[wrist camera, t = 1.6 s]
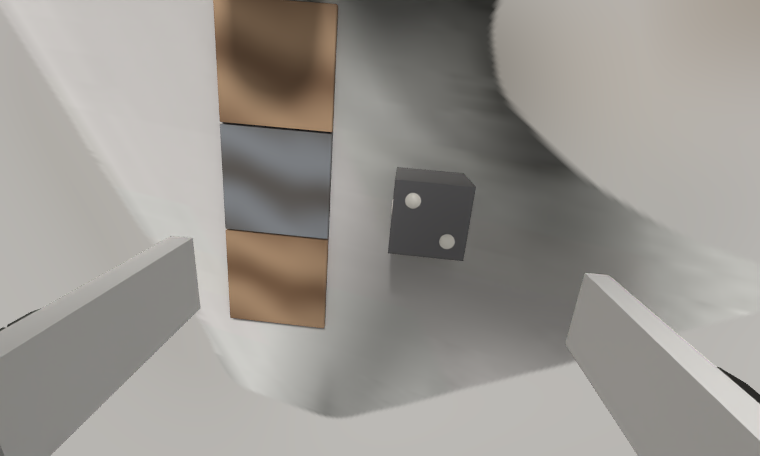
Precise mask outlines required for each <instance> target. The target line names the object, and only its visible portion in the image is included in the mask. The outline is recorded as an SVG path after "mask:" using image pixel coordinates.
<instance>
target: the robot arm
mask: <svg viewBox="0 0 760 456" xmlns="http://www.w3.org/2000/svg"><path fill="white" fill-rule="evenodd" d="M199 309H200V300H199V291H198V282H197V273H196V264H195V255H194V246H193V238H188V237H176V236H170V237H168V238H166V239H165V240H163V241H161V242H159V243H158V244H156V245H154V246H152V247H150V248H149V249H147V250H145V251H143V252H141V253H140V254H138V255H136V256H134V257H132V258H131V259H129V260H127V261H125V262H124V263H122V264H120V265H118V266H116V267H115V268H113V269H111V270H109V271H108V272H106V273H104V274H102V275H100V276H98V277H97V278H95V279H93V280H91V281H89V282H88V283H86V284H84V285H82V286H80V287H79V288H77V289H75V290H74V291H72V292H70V293H68V294H66V295H64V296H62V297H61V298H59V299H57V300H55V301H54V302H52V303H50V304H48V305H46V306H45V307H43V308H41V309H38V310H35V311H33V312H30V313H28V314H26V315H25V316H23V317H21V318H19V319H17V320H16V321H14V322H12V323H10V324H8V326H7V328H1V329H0V456H50V455H51V454H52V453H53V452H55V450H56V449H57V448H59V447H60V446H61V444H63V443H64V442H65V441H66V440H67V439H68V438H69V437H70V436H71V435H72V434H73V433H74V432H75V431H76V430H77V429H78V428H79V427H80V426H81V425H82V424H83V423H84V422H85V421H86V420H87V419H88V418H89V417H90V416H91V415H92V414H93V413H94V412H95V411H96V410H97V409H98V408H99V407H100V406H101V405H102V404H103V403H104V402H105V401H106V400H107V399H108V398H109V397H110V396H111V395H112V394H113V393H114V392H115V391H117V390H118V389H119V387H121V386H122V385H123V384H124V383H125V382H126V381H127V380H128V379H129V378H130V377H131V376H132V375H133V374H134V373H135V372H136V371H137V370H138V369H139V368H140V367H141V366H142V365H143V364H144V363H145V362H146V361H147V360H148V359H149V358H150V357H151V356H152V355H153V354H154V353H155V352H156V351H157V350H158V349H159V348H160V347H161V346H162V345H163V344H164V343H165V342H166V341H167V340H168V339H169V338H170V337H171V336H173V335H174V333H176V332H177V330H179V329H180V328H181V327H182V326H183V325H184V324H185V323H186V322H187V321H188V320H189V319H190V318H191V317H192V316H193V315H194V314H195V313H196V312H197V311H198V310H199ZM565 345H566V346H567V348H568V349H569V351H570V352H571V354H572V355H573V357H574V358H575V360H576V362H577V363H578V365H579V366H580V368H581V369H582V371H583V372H584V374H585V375H586V377H587V378H588V380H589V381H590V383H591V385H592V386H593V388H594V389H595V391H596V392H597V394H598V395H599V397H600V398H601V400H602V401H603V403H604V404H605V406H606V408H607V409H608V411H609V412H610V414H611V415H612V417H613V418H614V420H615V421H616V423H617V424H618V426H619V427H620V429H621V431H622V432H623V433H624V435H625V437H626V438H627V440H628V441H629V443H630V444H631V446H632V447H633V449H634V450H635V452H636V453H637V455H638V456H760V395H759V394H758V393H757V392H756V391H755V390H754V389H752V388H751V387H750V386H749V385H748V384H746V383H744V382H743V381H741V380H740V379H738V378H736V377H734V376H733V375H731V374H729V373H728V372H726V371H724V370H723V369H721V368H719V367H716V366H715V365H714V364H712V363H711V362H710V361H709V360H708V359H707V358H705V357H704V356H703V355H702V354H701V353H700V352H698V351H697V350H696V349H695V348H694V347H692V346H691V345H690V344H689V343H688V342H687V341H686V340H684V339H683V338H682V337H681V336H680V335H679V334H677V333H676V332H675V331H674V330H673V329H672V328H670V327H669V326H668V325H667V324H666V323H665V322H663V321H662V320H661V319H660V318H659V317H657V316H656V315H655V314H654V313H653V312H652V311H650V310H649V309H648V308H647V307H646V306H645V305H643V304H642V303H641V302H640V301H639V300H638V299H636V298H635V297H634V296H633V295H632V294H631V293H629V292H628V291H627V290H626V289H625V288H624V287H622V286H621V285H620V284H619V283H618V282H617V281H615V280H614V279H613V278H612V277H611V276H610V275H604V274H593V273H584V277H583V281H582V284H581V288H580V291H579V295H578V299H577V302H576V306H575V310H574V313H573V317H572V321H571V324H570V328H569V331H568V335H567V339H566V342H565Z"/></svg>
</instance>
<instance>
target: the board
mask: <svg viewBox="0 0 760 456" xmlns="http://www.w3.org/2000/svg"><path fill="white" fill-rule="evenodd" d="M213 3H214V22H215V40H216V59H217V77H218V96H219V115H220V122H228V123H239V124H250V125H261V126H272V127H283V128H294V129H305V130H315V131H326V132H333V114H334V89H335V65H336V41H337V17H338V5H337V4H328V3H315V2H302V1H290V0H213ZM220 133H221V152H222V170H223V189H224V207H225V226H226V229H227V230H226V244H227V263H228V282H229V300H230V318H238V319H247V320H256V321H265V322H273V323H282V324H291V325H300V326H309V327H317V328H324V326H325V307H326V283H327V259H328V235H329V211H330V186H331V162H332V138H333V134H328V133H317V132H306V131H295V130H284V129H273V128H262V127H252V126H241V125H230V124H220ZM235 229H236V230H235ZM254 231H255V232H254ZM264 232H265V233H264ZM283 234H284V235H283ZM293 235H294V236H293ZM312 237H313V238H312ZM322 238H323V239H322Z"/></svg>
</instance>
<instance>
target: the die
mask: <svg viewBox="0 0 760 456" xmlns="http://www.w3.org/2000/svg"><path fill="white" fill-rule="evenodd" d="M475 188H476V187H475V186H474V185H473V183H472V182H471V181H470V180H469V179H468V178H467V177H466V175H465V174H464V173H453V172H442V171H432V170H421V169H411V168H400V167H397V172H396V178H395V188H394V198H393V200H392V209H391V216H392V218H391V228H390V239H389V249H388V253H392V254H401V255H411V256H420V257H430V258H439V259H449V260H459V261H463V258H464V253H465V247H466V241H467V235H468V229H469V223H470V217H471V211H472V206H473V200H474V194H475Z"/></svg>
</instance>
